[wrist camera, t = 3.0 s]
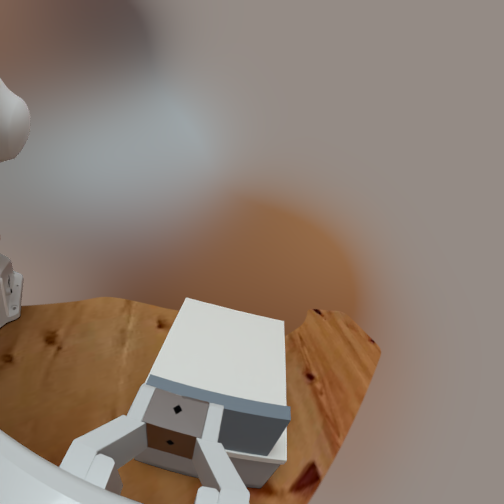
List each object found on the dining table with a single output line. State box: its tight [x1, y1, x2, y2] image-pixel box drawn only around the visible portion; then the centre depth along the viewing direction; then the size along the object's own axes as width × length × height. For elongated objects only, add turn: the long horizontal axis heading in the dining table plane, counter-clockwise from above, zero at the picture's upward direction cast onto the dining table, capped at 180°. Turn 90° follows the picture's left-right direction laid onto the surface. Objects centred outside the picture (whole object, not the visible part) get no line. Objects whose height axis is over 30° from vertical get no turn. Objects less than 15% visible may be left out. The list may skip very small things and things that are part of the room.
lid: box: [145, 298, 291, 464], centre depth 34 cm, size 25×16×8 cm, turn 176°
